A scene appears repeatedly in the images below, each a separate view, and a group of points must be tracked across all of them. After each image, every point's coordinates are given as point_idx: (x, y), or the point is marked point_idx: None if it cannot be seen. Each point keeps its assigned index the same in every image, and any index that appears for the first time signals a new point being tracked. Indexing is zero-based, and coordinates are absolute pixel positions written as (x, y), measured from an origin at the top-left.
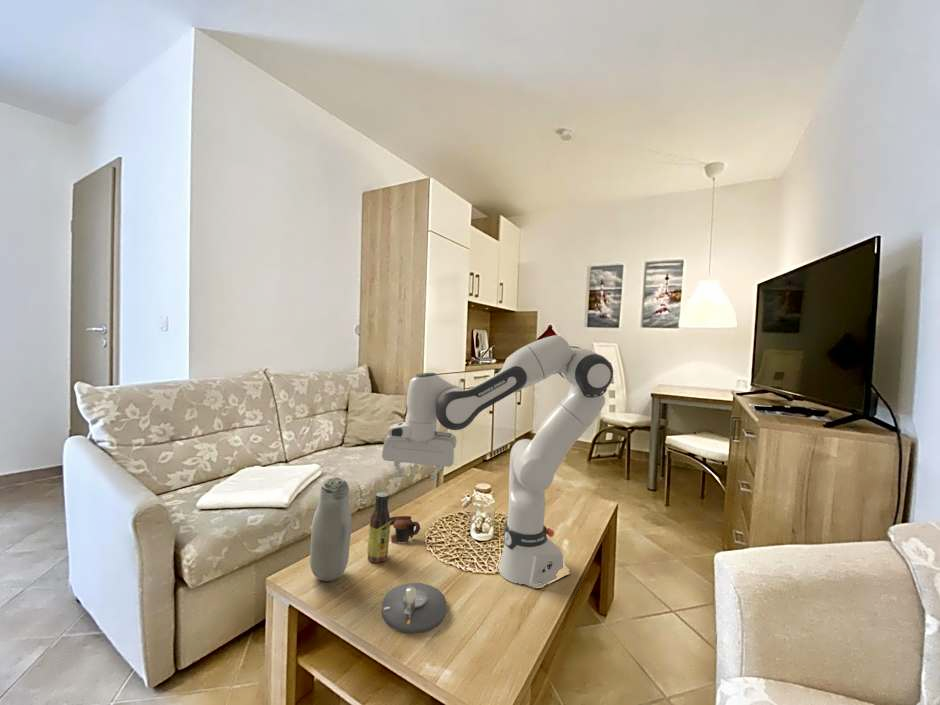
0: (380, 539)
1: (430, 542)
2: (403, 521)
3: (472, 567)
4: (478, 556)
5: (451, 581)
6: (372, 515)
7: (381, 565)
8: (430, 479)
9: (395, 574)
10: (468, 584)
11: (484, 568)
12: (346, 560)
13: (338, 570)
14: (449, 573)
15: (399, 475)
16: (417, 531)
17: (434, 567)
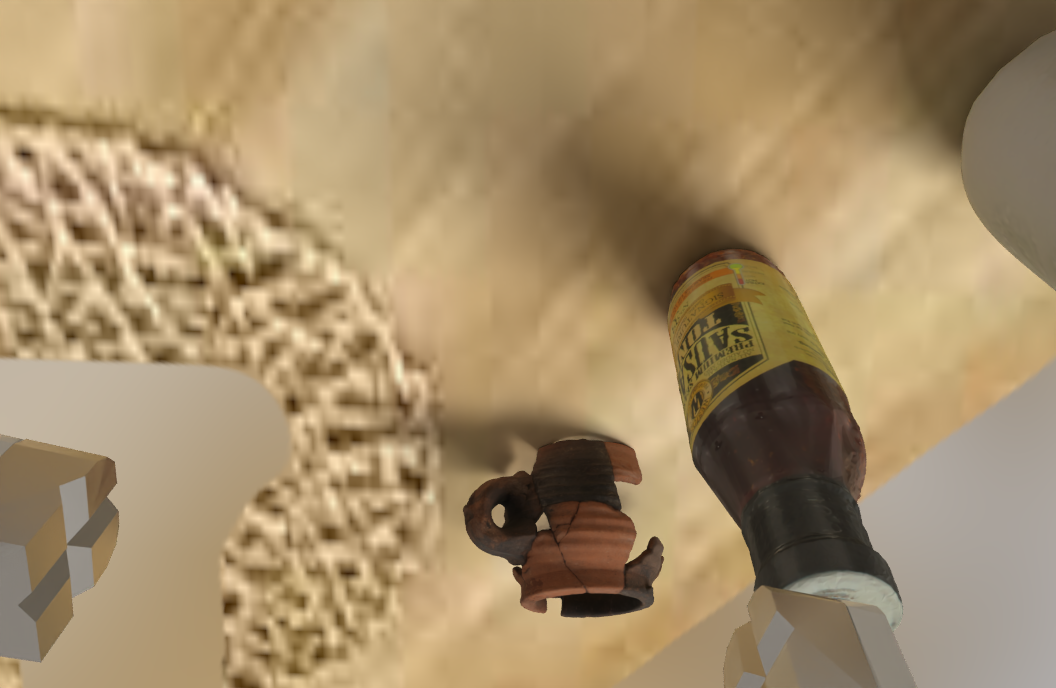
0: (748, 317)
1: (406, 439)
2: (572, 551)
3: (138, 186)
4: (111, 296)
5: (262, 41)
6: (861, 457)
7: (703, 227)
8: (96, 462)
9: (620, 130)
10: (149, 3)
11: (62, 173)
12: (997, 120)
13: (1044, 47)
14: (279, 128)
15: (841, 620)
16: (481, 489)
17: (376, 195)
